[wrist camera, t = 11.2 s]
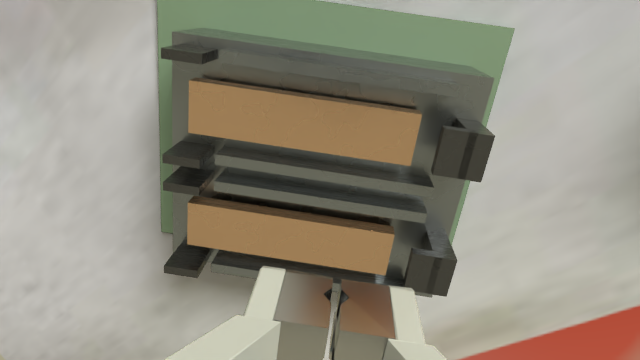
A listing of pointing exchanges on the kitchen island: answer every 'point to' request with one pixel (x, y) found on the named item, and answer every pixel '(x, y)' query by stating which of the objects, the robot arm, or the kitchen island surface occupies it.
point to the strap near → (303, 121)
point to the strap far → (289, 235)
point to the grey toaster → (327, 169)
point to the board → (333, 30)
